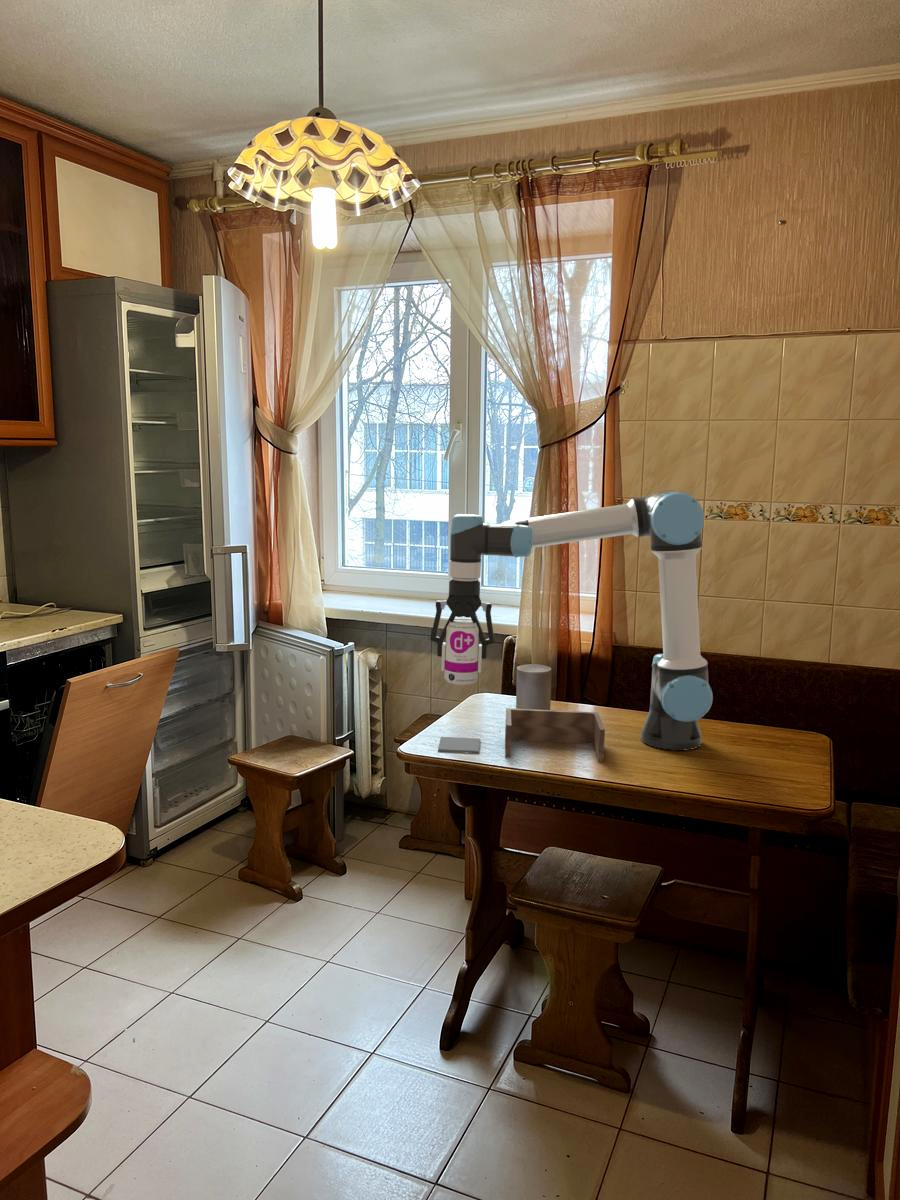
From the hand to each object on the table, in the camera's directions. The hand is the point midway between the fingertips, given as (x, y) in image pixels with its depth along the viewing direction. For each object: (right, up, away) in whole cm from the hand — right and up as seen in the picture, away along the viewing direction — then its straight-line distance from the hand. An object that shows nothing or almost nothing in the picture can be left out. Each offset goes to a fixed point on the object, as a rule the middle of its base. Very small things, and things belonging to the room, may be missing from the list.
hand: (461, 670), depth 220 cm
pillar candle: (+20, -15, +32) cm, 41 cm away
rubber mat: (0, -19, +3) cm, 19 cm away
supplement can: (0, -3, 0) cm, 3 cm away
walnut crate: (+23, -20, +2) cm, 30 cm away
